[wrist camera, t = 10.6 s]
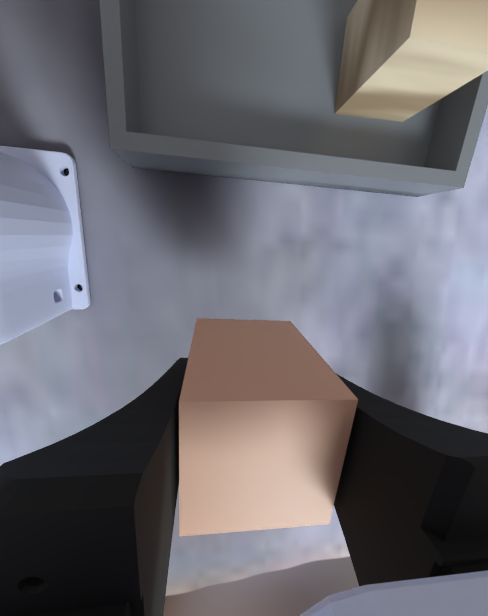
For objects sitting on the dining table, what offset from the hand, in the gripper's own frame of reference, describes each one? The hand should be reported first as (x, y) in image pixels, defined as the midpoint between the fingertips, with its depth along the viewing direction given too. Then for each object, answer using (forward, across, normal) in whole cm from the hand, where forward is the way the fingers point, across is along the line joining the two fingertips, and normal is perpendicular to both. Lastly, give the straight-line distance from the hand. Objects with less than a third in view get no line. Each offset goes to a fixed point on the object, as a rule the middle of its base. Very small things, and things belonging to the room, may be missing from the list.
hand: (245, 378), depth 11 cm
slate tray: (+8, -3, -16) cm, 18 cm away
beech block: (+7, -8, -16) cm, 19 cm away
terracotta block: (+2, 0, 0) cm, 2 cm away
